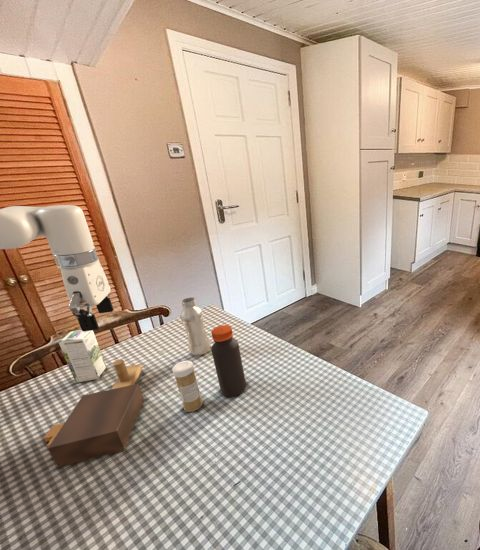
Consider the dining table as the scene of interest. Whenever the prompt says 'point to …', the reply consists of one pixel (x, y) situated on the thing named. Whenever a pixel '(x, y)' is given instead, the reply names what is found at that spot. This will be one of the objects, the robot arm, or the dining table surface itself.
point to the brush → (127, 374)
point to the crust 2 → (52, 439)
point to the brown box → (98, 425)
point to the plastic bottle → (194, 327)
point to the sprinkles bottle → (187, 385)
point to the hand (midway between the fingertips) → (99, 320)
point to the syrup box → (83, 355)
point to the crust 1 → (53, 431)
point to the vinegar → (228, 361)
